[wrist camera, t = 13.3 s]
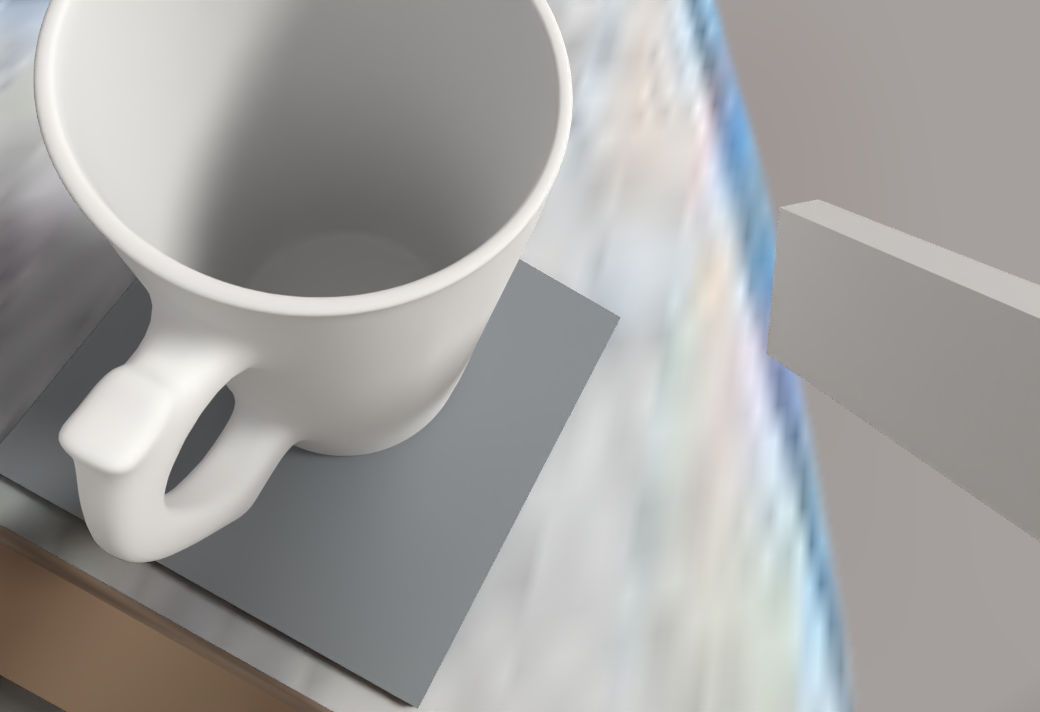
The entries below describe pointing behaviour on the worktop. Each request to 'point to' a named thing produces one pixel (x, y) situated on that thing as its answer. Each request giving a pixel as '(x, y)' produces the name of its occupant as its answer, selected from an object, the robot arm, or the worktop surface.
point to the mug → (291, 224)
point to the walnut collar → (114, 647)
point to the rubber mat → (363, 488)
